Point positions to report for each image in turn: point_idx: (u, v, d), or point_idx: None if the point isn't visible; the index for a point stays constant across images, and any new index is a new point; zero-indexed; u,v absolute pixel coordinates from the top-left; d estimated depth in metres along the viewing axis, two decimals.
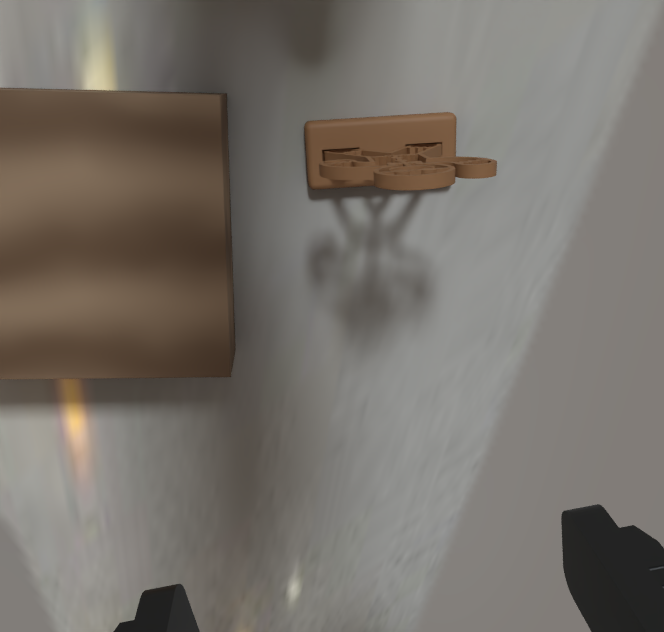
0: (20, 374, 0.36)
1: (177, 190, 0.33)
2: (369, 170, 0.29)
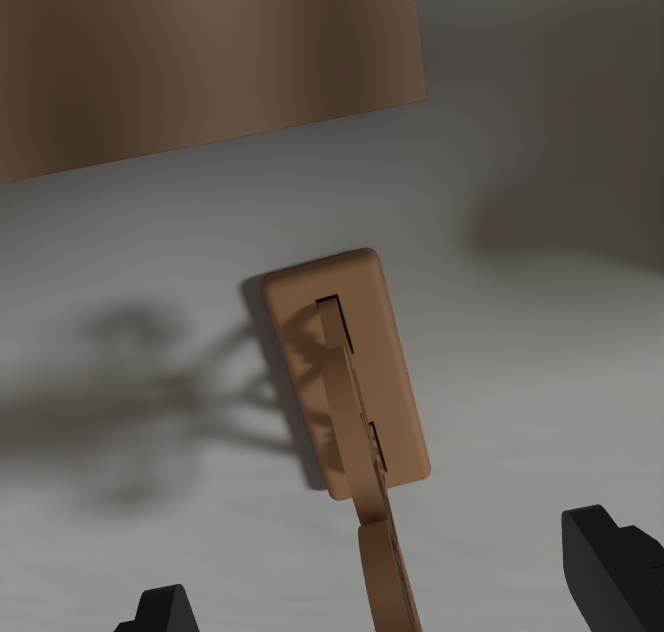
0: None
1: (199, 28, 0.14)
2: (372, 492, 0.13)
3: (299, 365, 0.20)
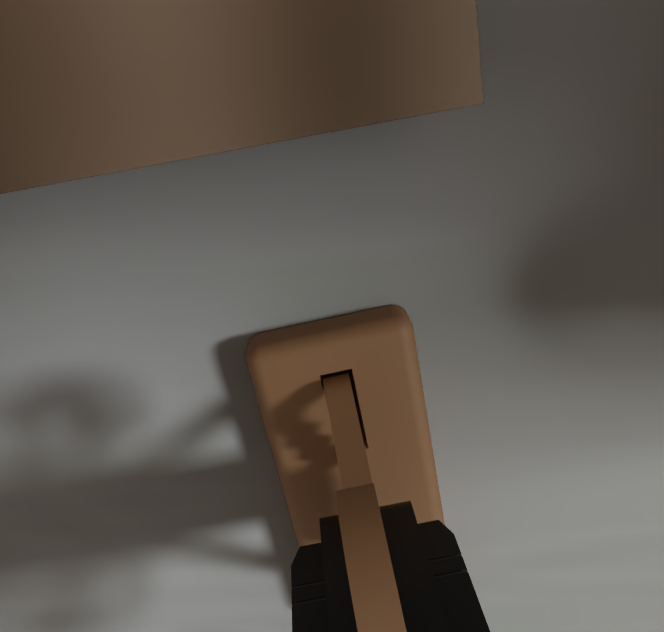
0: None
1: None
2: None
3: (292, 460, 0.15)
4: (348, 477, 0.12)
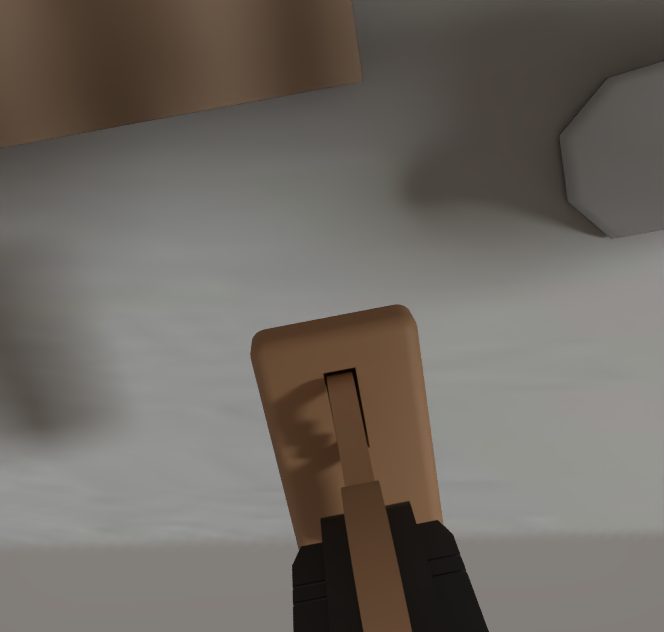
0: None
1: (203, 29, 0.20)
2: None
3: (293, 457, 0.15)
4: (350, 475, 0.12)
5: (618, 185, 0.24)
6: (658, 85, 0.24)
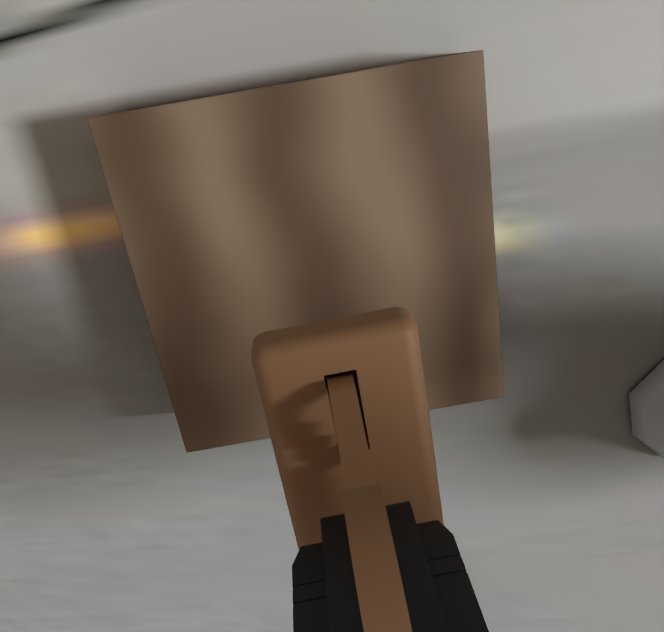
0: (122, 210, 0.26)
1: None
2: None
3: (293, 460, 0.15)
4: (351, 478, 0.12)
5: None
6: None
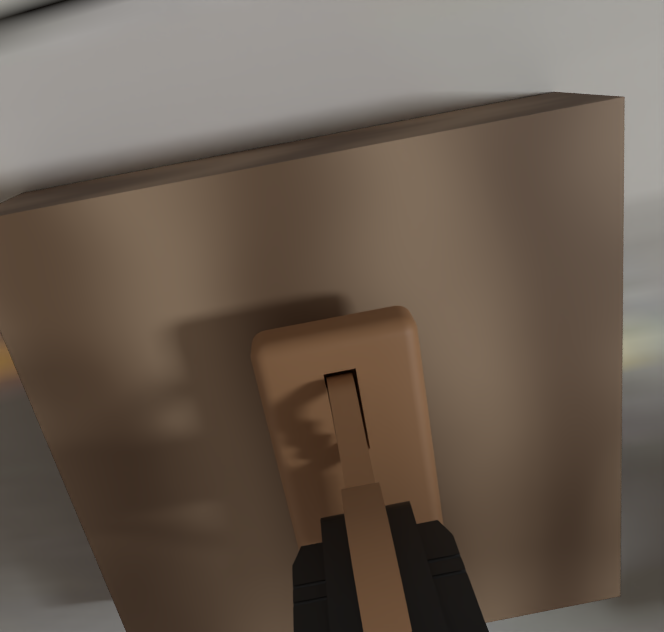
0: (27, 365, 0.16)
1: (472, 569, 0.19)
2: None
3: (293, 459, 0.15)
4: (351, 476, 0.12)
5: None
6: None
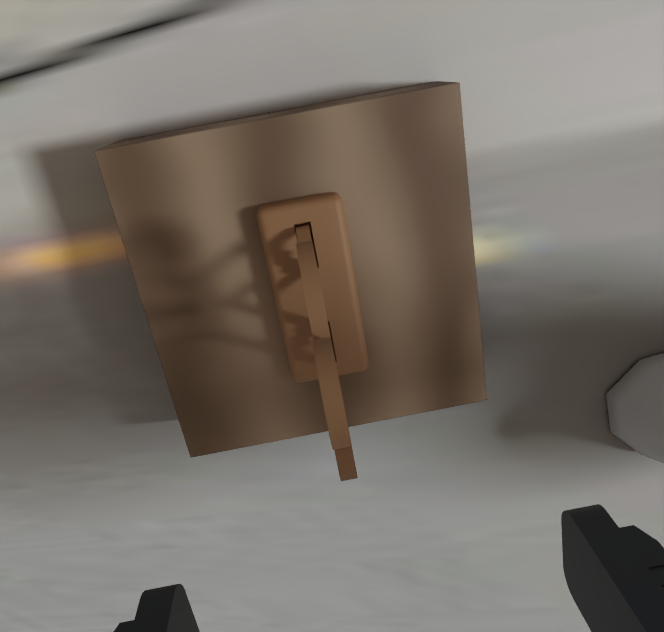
0: (128, 235, 0.28)
1: (391, 377, 0.31)
2: (323, 323, 0.21)
3: (278, 273, 0.28)
4: None
5: (647, 439, 0.36)
6: None
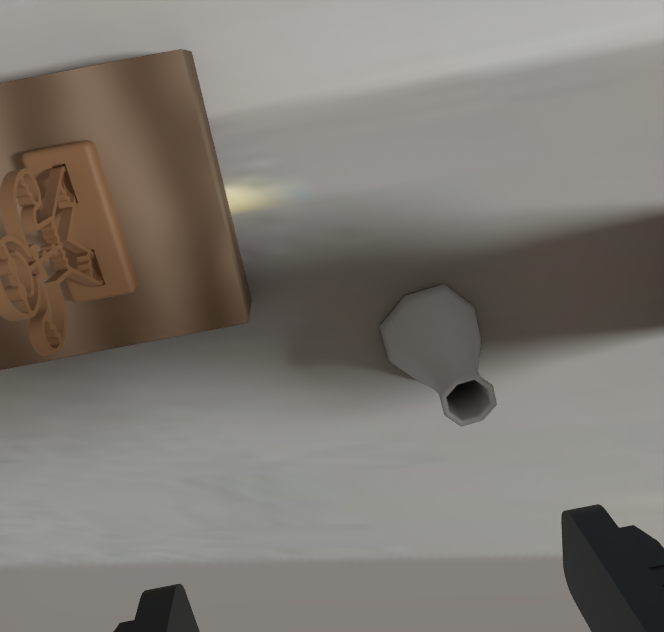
0: None
1: (162, 301, 0.37)
2: (15, 228, 0.27)
3: None
4: (47, 194, 0.31)
5: (405, 363, 0.42)
6: (427, 306, 0.41)
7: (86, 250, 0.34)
